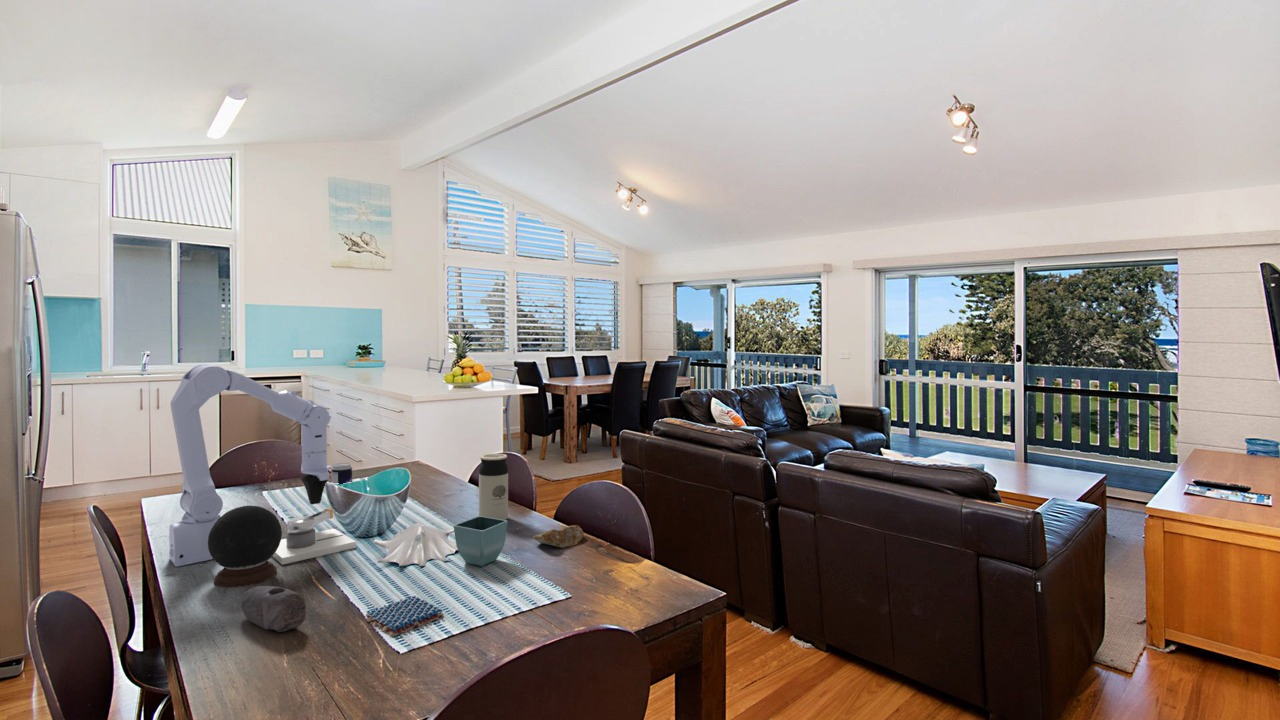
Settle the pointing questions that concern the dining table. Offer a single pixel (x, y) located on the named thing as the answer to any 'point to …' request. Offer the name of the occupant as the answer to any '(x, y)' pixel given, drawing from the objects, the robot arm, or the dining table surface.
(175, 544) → the robot arm
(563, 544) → the decorative stone
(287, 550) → the board
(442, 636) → the dining table surface
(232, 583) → the black egg on stand
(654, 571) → the dining table surface
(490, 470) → the travel mug
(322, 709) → the dining table surface
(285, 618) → the perforated stone tool
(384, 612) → the woven mat
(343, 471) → the beverage can
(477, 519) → the flower pot
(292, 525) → the lever with orange knob
